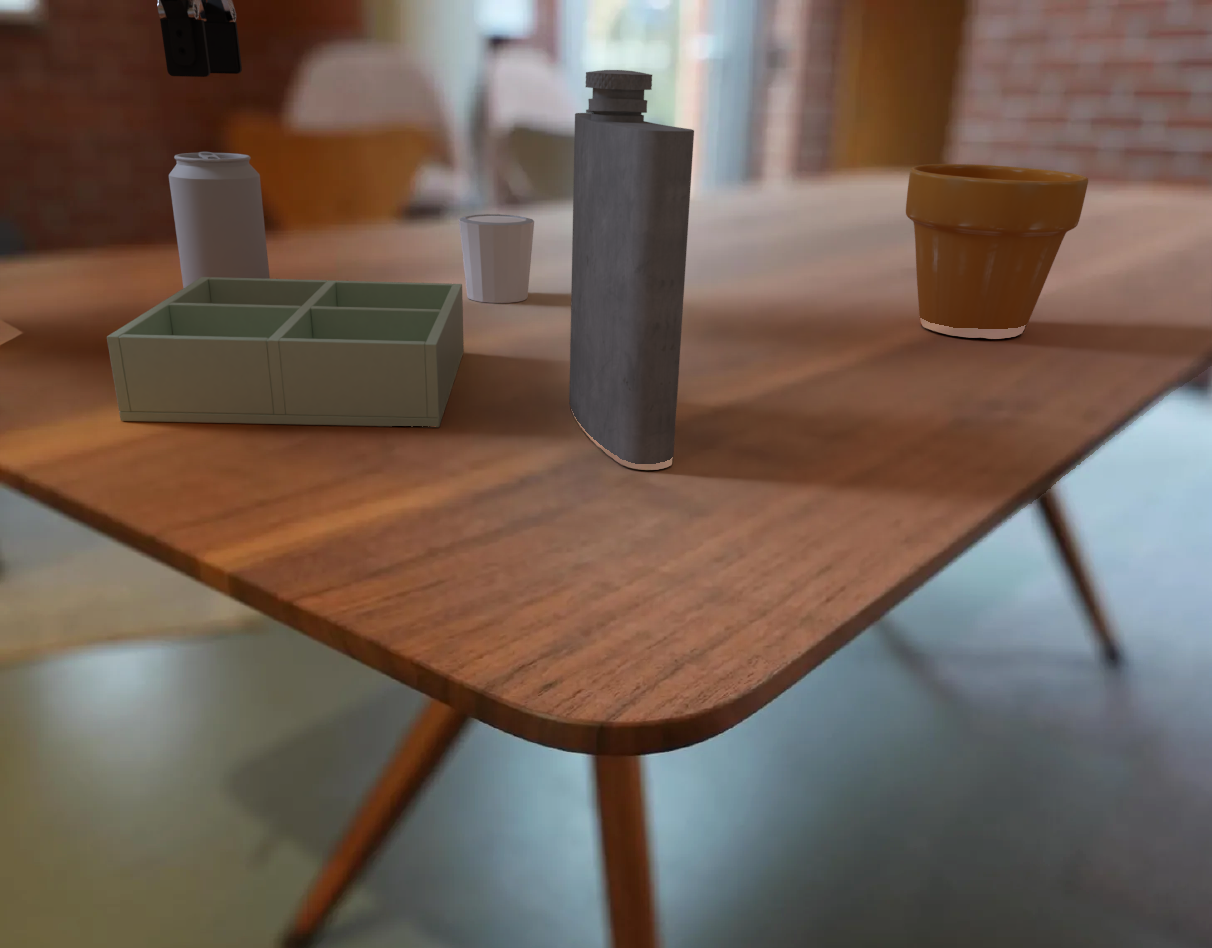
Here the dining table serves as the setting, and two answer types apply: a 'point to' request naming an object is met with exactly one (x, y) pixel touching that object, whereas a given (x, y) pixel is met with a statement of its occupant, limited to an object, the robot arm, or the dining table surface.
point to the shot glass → (496, 256)
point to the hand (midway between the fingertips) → (207, 74)
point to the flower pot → (987, 239)
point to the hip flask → (628, 268)
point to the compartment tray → (292, 353)
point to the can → (218, 217)
